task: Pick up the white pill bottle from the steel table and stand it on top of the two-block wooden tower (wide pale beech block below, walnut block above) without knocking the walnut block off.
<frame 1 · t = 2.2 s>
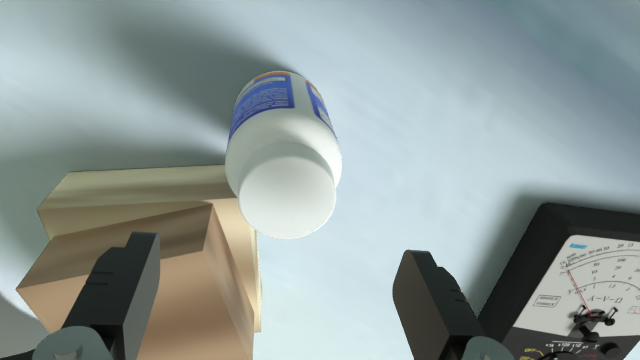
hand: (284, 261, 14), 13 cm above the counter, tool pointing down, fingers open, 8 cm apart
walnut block: (163, 278, 25), point 4 cm above the counter, touching beech block
multimeter: (552, 295, 37), on the counter
beech block: (176, 237, 29), on the counter
pill bottle: (280, 111, 25), on the counter
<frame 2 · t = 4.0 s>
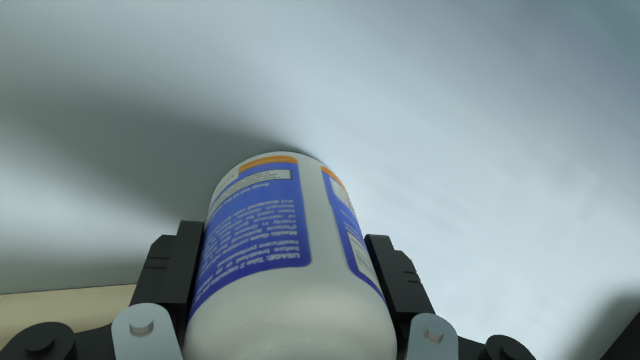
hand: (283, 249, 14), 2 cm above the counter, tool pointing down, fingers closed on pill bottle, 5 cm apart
pill bottle: (281, 205, 16), on the counter, touching gripper
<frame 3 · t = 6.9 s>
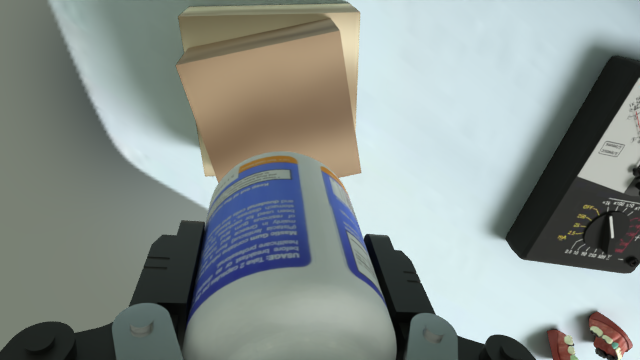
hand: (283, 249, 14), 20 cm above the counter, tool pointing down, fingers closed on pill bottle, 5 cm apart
dentures: (573, 333, 52), on the counter
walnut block: (276, 101, 28), point 4 cm above the counter, touching beech block
multimeter: (605, 166, 39), on the counter
beech block: (275, 83, 31), on the counter
pill bottle: (281, 205, 16), point 17 cm above the counter, touching gripper
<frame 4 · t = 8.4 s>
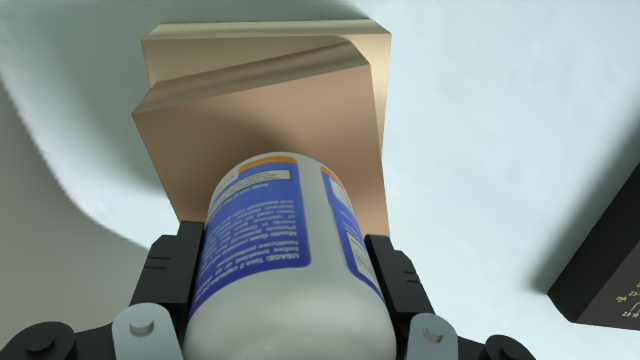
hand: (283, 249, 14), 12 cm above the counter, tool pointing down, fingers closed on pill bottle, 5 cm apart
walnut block: (276, 149, 21), point 4 cm above the counter, touching beech block
beech block: (274, 119, 24), on the counter
pill bottle: (281, 206, 16), point 9 cm above the counter, touching gripper
when the fingers open (11 cm above the counter, at t = 9.8 s): pill bottle stays where it is, resting on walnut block.
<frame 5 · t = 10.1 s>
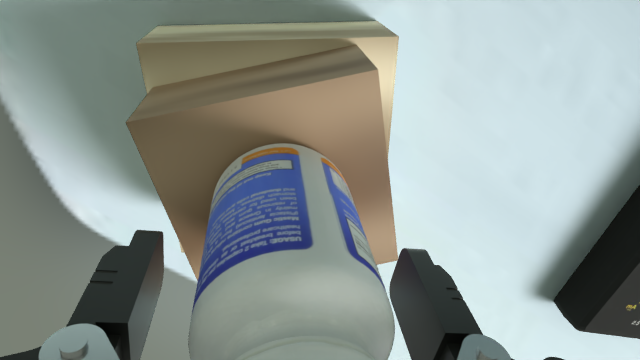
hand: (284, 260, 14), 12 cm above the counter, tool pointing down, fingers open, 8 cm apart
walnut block: (278, 156, 20), point 4 cm above the counter, touching beech block, pill bottle
beech block: (276, 124, 24), on the counter
pill bottle: (282, 197, 17), point 8 cm above the counter, touching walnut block
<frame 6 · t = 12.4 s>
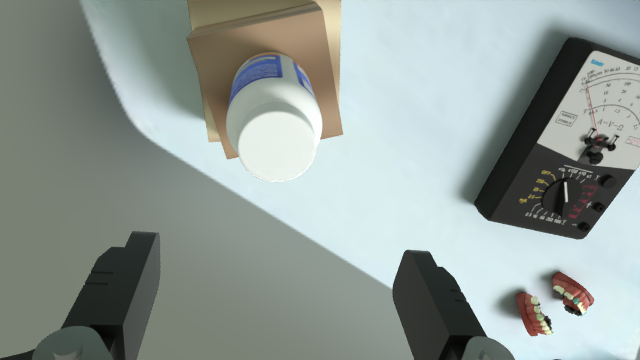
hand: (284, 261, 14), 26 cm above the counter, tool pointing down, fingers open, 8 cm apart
dentures: (543, 294, 56), on the counter
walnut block: (270, 74, 33), point 4 cm above the counter, touching beech block, pill bottle
multimeter: (563, 140, 44), on the counter
beech block: (269, 61, 36), on the counter
pill bottle: (272, 88, 29), point 8 cm above the counter, touching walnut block
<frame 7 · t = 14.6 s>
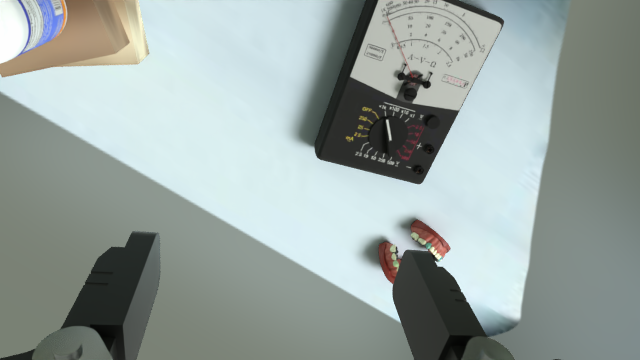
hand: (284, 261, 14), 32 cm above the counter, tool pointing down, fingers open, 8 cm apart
dentures: (409, 243, 57), on the counter
multimeter: (395, 83, 45), on the counter
pill bottle: (30, 3, 30), point 8 cm above the counter, touching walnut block
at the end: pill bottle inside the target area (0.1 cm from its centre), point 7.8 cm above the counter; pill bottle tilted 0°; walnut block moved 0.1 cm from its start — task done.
